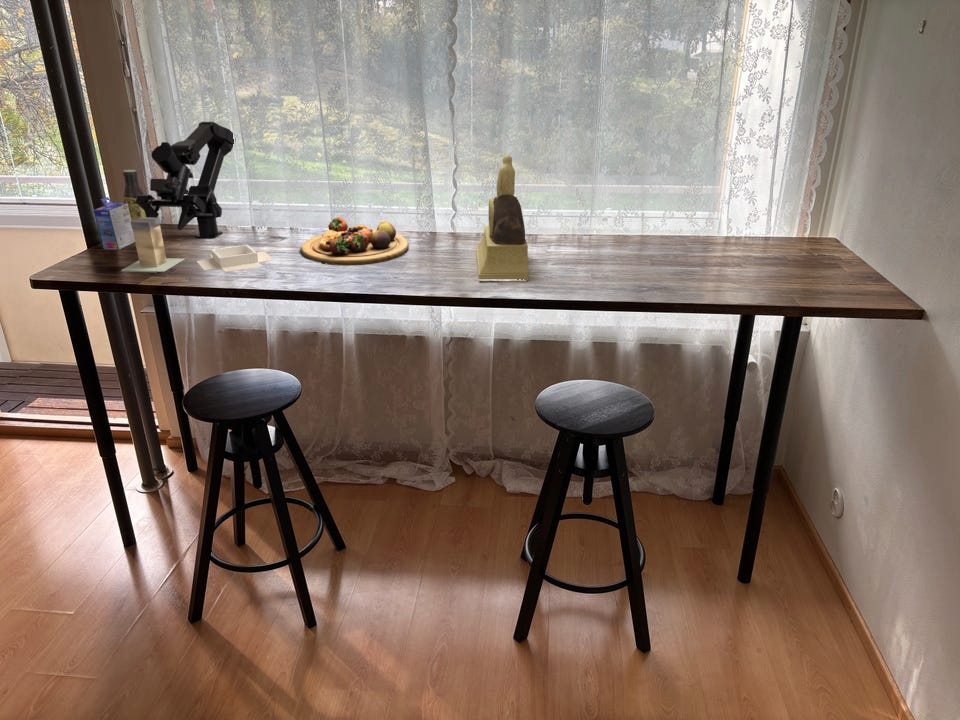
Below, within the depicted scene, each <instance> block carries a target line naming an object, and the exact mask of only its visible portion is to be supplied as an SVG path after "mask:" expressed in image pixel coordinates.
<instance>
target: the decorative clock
mask: <svg viewBox="0 0 960 720" xmlns="http://www.w3.org/2000/svg"><path fill="white" fill-rule="evenodd" d="M501 161H502V164H503V165H502V166H501V167H500V168H499V169H498V174H497V181H496V196H495V197H494V198H489V199H488V225H484V228H483V229H484V232H483V237H482V239H481V241H480V242H479V243H477V245H476V246H475V249H476V263H477V265H478V266H477V274H478V276H479V278H478V280H479V279H517V280H519V279H521V280H523V279H524V280H528V281H529V267H528V265H529V263H528V260H529V259H528V257H529V253H528V249H529V246H528V245H529V244H528V242H527V239H526V227H525V221H524V217H523V210H522V205H521V204H520V201H519V199H518V198H517V197H516V196H515V191H516V190H515V187H516V186H515V185H516V184H515V181H516V178H515V177H516V170H515V168H514V166H513V157H512V156H511V155H510V154H505V155H504V156H503V157H502V159H501Z"/></svg>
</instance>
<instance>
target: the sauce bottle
mask: <svg viewBox="0 0 960 720" xmlns="http://www.w3.org/2000/svg"><path fill="white" fill-rule="evenodd" d="M122 175H123V177H124V182H125V183H124V184H125V186H124V193H123V203H128V208H129V212H130V217H131V221H133V220H136V219H138V218H141V217H146V214H145V211H144V210H143V209H142V208H141V207H140V206H139V205H138V204H137V203H136V202H135V201H136V198H137V196H138V195H145V193H144V190H143V189H142V187H141V186H140V183H139V181H138V170H137V169H124V170H123V171H122Z"/></svg>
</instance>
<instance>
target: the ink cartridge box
mask: <svg viewBox="0 0 960 720" xmlns="http://www.w3.org/2000/svg"><path fill="white" fill-rule="evenodd" d="M100 201H101V202H102V204H103V206H101V207H98V208H95V209H94V210H93V213H94V216H95V220H96V224H97V228H98V232H99V236H100V240H101V243H102V248H103V250H110V251H111V250H112V251H113V250H114V251H118V250H121V249H123V248H126V247H127V246H130V245H131V244H134V243H135V238H134V233H133V229H132V227H131V217H130V212H129V208H128V203H124V202H113V201H112V199H110V198H109V197H108V196H106V197H103V198H101V199H100ZM106 201H107V202H106Z"/></svg>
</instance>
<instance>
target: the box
mask: <svg viewBox="0 0 960 720" xmlns="http://www.w3.org/2000/svg"><path fill="white" fill-rule="evenodd" d="M131 227H132V229H133V233H134V238H135V242H134V243H135V248H136V252H137V255H138V261H139V262H140V267H159V266H160V265H162V264H164V263H166V262H167V260H166V258H167V256H166V251H165V250H166V249H165V245H164V244H165V243H164V239H163V234H162V229H161V220H160V218H159V217H157V218H150V217H141V218H138V219H136V220H133V221H131Z"/></svg>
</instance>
